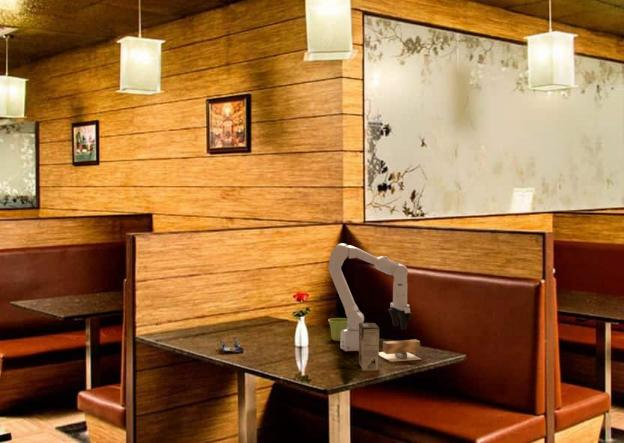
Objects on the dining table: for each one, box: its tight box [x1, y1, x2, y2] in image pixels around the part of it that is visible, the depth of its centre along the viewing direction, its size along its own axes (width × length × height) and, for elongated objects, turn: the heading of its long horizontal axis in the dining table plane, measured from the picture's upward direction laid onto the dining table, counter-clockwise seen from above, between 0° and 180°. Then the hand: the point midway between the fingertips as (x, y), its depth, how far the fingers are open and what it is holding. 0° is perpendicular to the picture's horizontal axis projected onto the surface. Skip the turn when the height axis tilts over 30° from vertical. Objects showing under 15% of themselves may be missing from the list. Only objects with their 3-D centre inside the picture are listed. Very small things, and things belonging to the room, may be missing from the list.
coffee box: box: [358, 322, 380, 372], centre depth 300 cm, size 9×6×16 cm
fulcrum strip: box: [395, 353, 407, 360], centre depth 313 cm, size 2×7×2 cm, turn 19°
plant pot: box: [327, 317, 348, 342], centre depth 350 cm, size 9×9×9 cm
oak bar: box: [382, 338, 421, 354], centre depth 313 cm, size 14×4×4 cm, turn 109°
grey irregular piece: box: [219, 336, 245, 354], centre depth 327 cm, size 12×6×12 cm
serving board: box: [379, 351, 422, 363], centre depth 316 cm, size 13×16×1 cm
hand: (399, 327), depth 326 cm, fingers open, 7 cm apart
